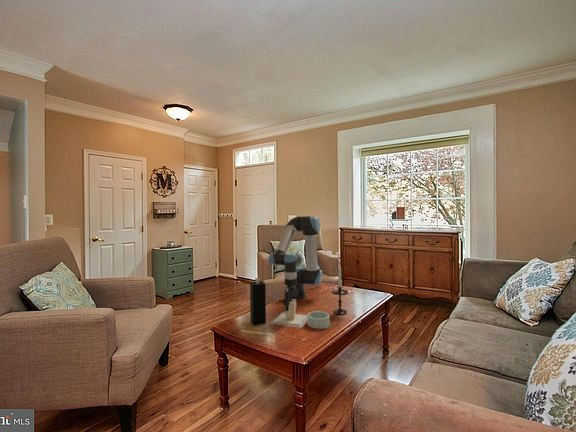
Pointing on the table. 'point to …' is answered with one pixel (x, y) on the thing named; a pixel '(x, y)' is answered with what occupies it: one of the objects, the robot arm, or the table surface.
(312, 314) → the bowl
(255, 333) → the table surface
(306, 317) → the mat
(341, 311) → the candlestick
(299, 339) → the table surface
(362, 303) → the table surface
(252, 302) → the black block
